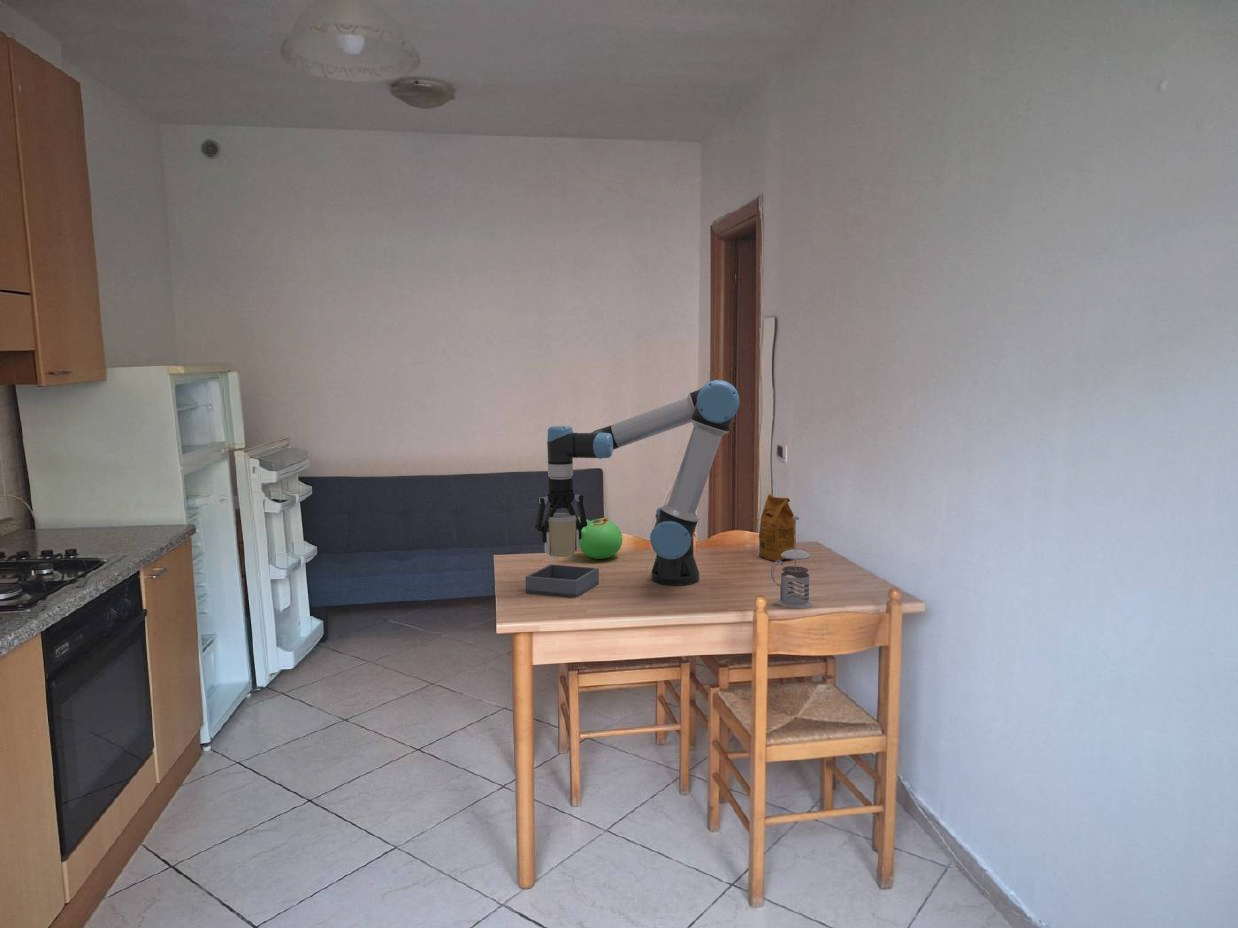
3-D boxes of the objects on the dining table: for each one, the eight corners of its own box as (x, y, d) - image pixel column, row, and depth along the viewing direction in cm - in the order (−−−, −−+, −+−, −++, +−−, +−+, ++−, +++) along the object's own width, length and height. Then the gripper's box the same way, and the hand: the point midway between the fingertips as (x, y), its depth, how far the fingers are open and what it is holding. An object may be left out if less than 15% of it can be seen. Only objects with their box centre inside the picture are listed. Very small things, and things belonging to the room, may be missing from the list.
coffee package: (778, 552, 290) (778, 492, 287) (798, 560, 278) (799, 497, 276) (754, 555, 286) (754, 494, 284) (773, 562, 275) (774, 499, 272)
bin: (598, 583, 250) (598, 568, 250) (576, 597, 235) (575, 581, 235) (551, 579, 257) (550, 564, 256) (525, 592, 241) (525, 576, 241)
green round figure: (620, 563, 276) (620, 521, 275) (572, 563, 278) (571, 521, 276) (624, 552, 294) (623, 512, 293) (578, 552, 295) (577, 512, 294)
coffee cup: (572, 549, 251) (572, 511, 249) (580, 556, 242) (580, 516, 240) (543, 552, 248) (542, 513, 246) (550, 558, 239) (549, 518, 238)
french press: (817, 607, 222) (818, 517, 220) (776, 608, 222) (776, 519, 219) (806, 597, 232) (807, 511, 229) (766, 598, 231) (767, 512, 229)
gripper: (589, 474, 250) (590, 545, 252) (522, 478, 241) (524, 552, 244) (598, 476, 243) (599, 550, 245) (529, 481, 235) (531, 557, 237)
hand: (561, 551), depth 245 cm, fingers closed on coffee cup, 9 cm apart
